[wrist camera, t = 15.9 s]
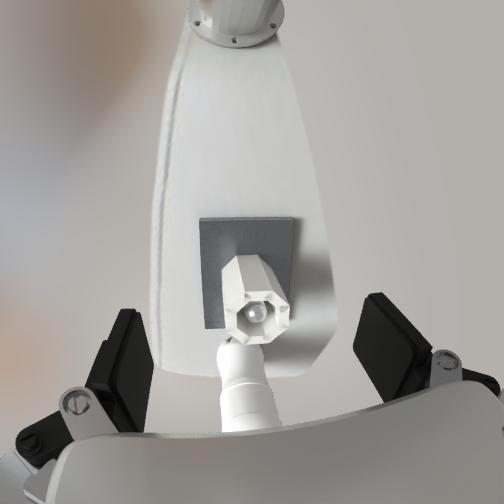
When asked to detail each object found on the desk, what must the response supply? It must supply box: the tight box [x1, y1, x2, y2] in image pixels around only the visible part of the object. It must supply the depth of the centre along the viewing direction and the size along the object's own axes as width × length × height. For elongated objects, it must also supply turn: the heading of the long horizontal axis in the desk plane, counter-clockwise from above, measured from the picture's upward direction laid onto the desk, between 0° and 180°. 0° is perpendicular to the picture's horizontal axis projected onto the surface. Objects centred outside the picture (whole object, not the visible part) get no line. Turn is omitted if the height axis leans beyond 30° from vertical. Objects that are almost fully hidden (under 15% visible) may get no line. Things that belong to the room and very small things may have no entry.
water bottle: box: [217, 337, 282, 432], centre depth 32 cm, size 7×7×25 cm
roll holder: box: [199, 217, 294, 329], centre depth 34 cm, size 16×12×11 cm
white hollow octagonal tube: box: [222, 255, 290, 345], centre depth 33 cm, size 7×7×10 cm
